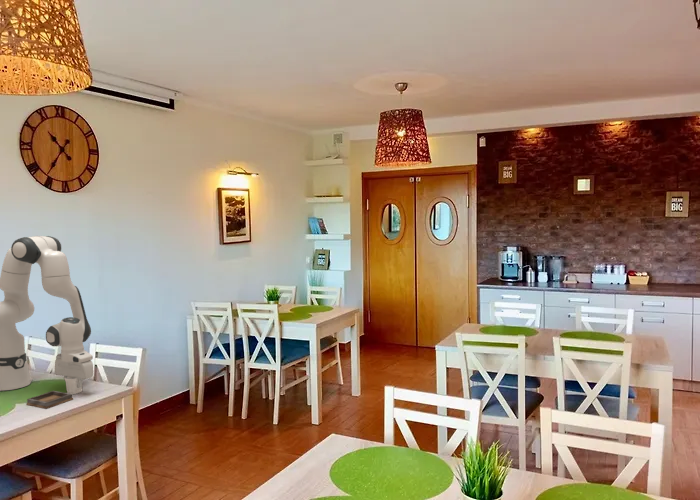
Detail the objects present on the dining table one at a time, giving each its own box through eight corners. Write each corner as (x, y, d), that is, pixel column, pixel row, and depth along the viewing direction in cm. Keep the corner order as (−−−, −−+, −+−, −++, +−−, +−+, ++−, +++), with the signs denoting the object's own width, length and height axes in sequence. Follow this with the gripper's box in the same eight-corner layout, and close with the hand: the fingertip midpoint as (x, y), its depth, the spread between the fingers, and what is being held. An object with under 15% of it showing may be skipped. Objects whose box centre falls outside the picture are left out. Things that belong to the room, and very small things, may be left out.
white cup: (86, 389, 240) (85, 374, 240) (77, 394, 234) (76, 378, 233) (71, 389, 241) (71, 373, 241) (62, 394, 234) (61, 378, 234)
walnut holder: (26, 404, 222) (26, 399, 222) (53, 395, 233) (53, 390, 233) (46, 408, 217) (46, 403, 217) (73, 399, 228) (72, 394, 228)
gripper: (49, 354, 238) (51, 385, 239) (82, 359, 229) (84, 391, 230) (62, 351, 244) (64, 381, 244) (95, 355, 235) (96, 387, 236)
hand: (74, 386), depth 237 cm, fingers closed on white cup, 5 cm apart
